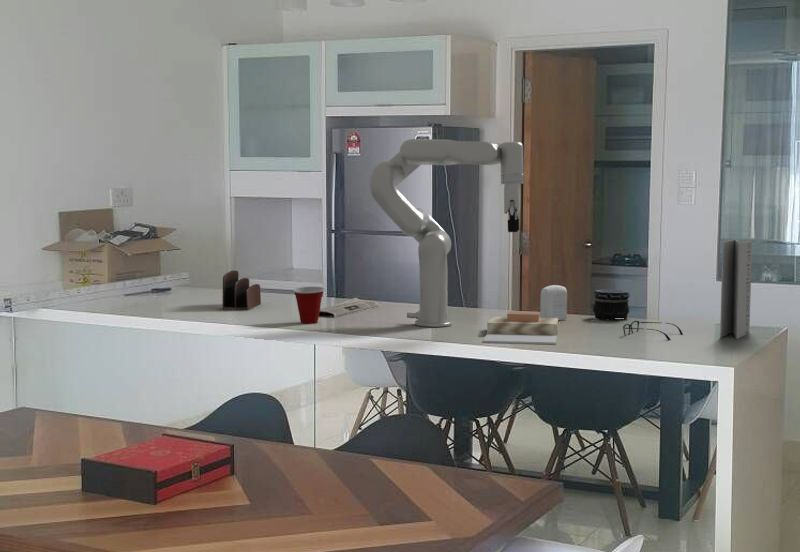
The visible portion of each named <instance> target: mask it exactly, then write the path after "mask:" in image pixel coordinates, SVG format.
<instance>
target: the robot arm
mask: <svg viewBox="0 0 800 552" xmlns="http://www.w3.org/2000/svg"><path fill="white" fill-rule="evenodd" d="M498 164H500V185H504V186H503V213H504V214H505V215H508V216H507V232H508V233H517V232H519V230H520V218H519V213H520V212H521V184H525V178H524V177H525V176H524V175H525V174H524V145H523V143H522V142H520V141H505V142H502V143H499V142H498V143H497V142H491V141H465V140H462V141H461V140H454V139H433V138H432V139H426V138H409V139H407V140H404V141H403V142H402V144H401V145H400V147H399V151H398V153H396V154H395V155H394V156H393V157H392V158H390V159H389V160H388V161H381V162H379V163H377V164H376V165H375V166H374V167H373V169H372V171H371V173H370V177H369V183H368V184H369V190H370V194H371V196H372V199H374V202H376V204H377V206H379V208H380V209H381V210H382V211H383V212H384V213H385V214H386V215H387V217H388V218H389V219H390V220H391V221H392V222H393V223H394V224H395V225H396V227H397V228H398V229H399V230H400V231H401V232H402V233H403V234H404V235H405V236H408V237H413V239H414V240H415V241H416V242H417V243H418V247H417V248H418V249H417V250H418V251H417V252H418V253H417V254H418V265H419V267H418V268H419V269H418V270H419V272H418V273H419V276H418V277H419V310H418V311H416V312H406V318H407V319H416V320H415V321H414V325H415V326H419V327H426V328H427V327H429V328H435V327H436V328H437V327H438V328H439V327H449V326H451V325H453V321H452V320H450V319H448V285H449V281H448V275H449V274H448V273H449V272H448V254H449V252H450V251H451V248H452V240H451V237H450V236H449V234H448V233H447V232H446V231H445V230H444V228H442V227H441V226H440V225H439V223H438V222H437V221H436V220H435V219H434V218H433V217H432V216H431V215H430V214H429V213H428V212H427V211H426V210H424V209H422V208H420V207H415V206H414V205H413V204H412V203H411V202H410V201H409V200H408V199H407V198H406V197H405V195H404V194H403V193H401V191H399V190H398V188H397V187H396V186H398V185H400V184H401V183H402V182H404V180H405V179H407V178H408V177H410V175H411V174H413V173H414V172H415V171H416V170H417V169H418V168H419V167H420V166H422V165H425V166H426V165H429V166H430V165H431V166H454V165H480V166H481V165H482V166H492V165H498Z"/></svg>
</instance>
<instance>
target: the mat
mask: <svg viewBox="0 0 800 552" xmlns="http://www.w3.org/2000/svg"><path fill="white" fill-rule="evenodd" d="M557 340H558V335H557V336H553V335H513V334H487V333H486V335H485V337H484V338H483V340H482V343H484V344H521V345H522V344H523V345H524V344H525V345H528V344H529V345H554V346H555V345H557Z"/></svg>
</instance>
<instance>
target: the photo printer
mask: <svg viewBox="0 0 800 552" xmlns="http://www.w3.org/2000/svg"><path fill="white" fill-rule="evenodd" d="M539 306H540V307H539V309H540V310H539V318H558V321H566V320H567V317H568V316H567V314H568V313H567V312H568V290H567V288H566V287H565V286H563V285H558V284H552V285H548V286H545V287H543V288H542V289H541V291H540V305H539Z"/></svg>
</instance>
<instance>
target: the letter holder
mask: <svg viewBox="0 0 800 552" xmlns="http://www.w3.org/2000/svg"><path fill="white" fill-rule="evenodd" d="M239 275H240V274H239V271H238V270H230V271H228V272H226V273H225V274H224V275H223V276H222V307H221V308H222V311H244V312H245V311H249V310H252V309H253V308H256V307H258V306H260V305H261V304H262V297H261V296H262V295H261V285H260V284H259V283H254V284H252V285H250V279H249V277H243V278H242V277H241V278H240V279H239Z"/></svg>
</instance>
